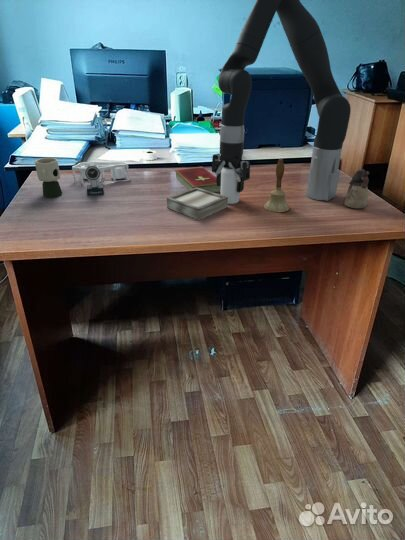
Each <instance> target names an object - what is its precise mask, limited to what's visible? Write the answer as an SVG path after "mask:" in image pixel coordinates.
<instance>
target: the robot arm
mask: <svg viewBox="0 0 405 540" xmlns="http://www.w3.org/2000/svg"><path fill="white" fill-rule="evenodd" d="M276 13H277V16H278V18H279V21H280V24H281V26H282V29H283V31H284V33H285V36H286V38H287V41H288V43H289V46H290V49H291V52H292V54H293V56H294V59H295V60H296V63H297V64H298V65H297V66H298V67H299V69H300V70H301V72H302V75H303V76H304V78H305V79H306V82H307V84H308V86H309V87H310V90H311V94H312V96H313V100H314V103H315V107H316V111H317V115H318V123H317V130H316V135H315V137H314V140H313V145H312V146H313V147H312V153H311V161H310V167H309V173H308V174H309V175H308V180H307V187H306V194H305V195H306V196H307V197H308V198H310V199H312V200H315V201H316V200H317V201H326V202H329V201H331V200H332V199H335V197H336V196H337V195H336V194H337V190H338V186H339V185H338V184H339V180H340V179H339V178H340V173H341V170H340V169H339V166H340V162H341V161H340V160H341V155H342V150H343V146H344V142H345V139H346V137H347V133H348V128H349V124H350V118H351V110H352V109H351V108H352V107H351V104H350V101H349V100H348V99H347V98H346V97H345V96H343V94H342V92H341V91H340V88H339V87H338V84H337V82H336V81H335V78H334V76H333V73H332V70H331V69H332V68H331V67H332V66H331V64H330V63H331V62H330V58H329V57H330V56H329V53H328V48H327V45H326V41H325V39H324V36H323V33H322V30H321V28H320V26H319V24H318V22H317V20H316V19H315V17H314V16H313V15H312V14H311V13H310V11H308V9H307V8H306V7H305V6H304V5H303V4H302V2H301V0H256V1H255V3H254V5H253V7H252V9H251V10H250V12H249V15H248V16H247V19H246V21H244V22H245V23H244V24H243V27H242V28H241V32H240V33H239V37H238V38H237V42H236V44H235V48H234V49H233V51H232V52H231V54H230V55H229V57H228V59H227V60H226V62H225V63H224V65H223V66H222V68H221V69H220V72H219V76H218V81H217V83H218V89H219V90H220V91H221V92H222V93H223V94H227V95H231V98H230V102H228V103H225V104H224V105H223V106H222V109H221V125H220V133H219V134H220V135H219V153H218V152H217V153H215V154H212V158H211V159H212V161H211V172H212V173H213V174H214V173H215V176H216V179H217V180H216V183H217V186H221V170H222V168H223V167H227V168H231V169H233V171H234V174H235V176H236V178H237V180H238V181H237V192H240V193H242V192H243V191H244V189H245V187H244V185H245V181H246V182H247V181H249V180H250V178H251V161H250V160H247V161H246V160H243V159H242V158H243V157H242V156H243V154H244V144H245V143H244V141H245V113H246V108H247V106H248V102H249V99H250V95H251V93H252V89H253V88H252V87H253V80H252V77H251V74H250V72H248V71H247V70H245V68H246V67H248V66H250V65H253V64H255V62H256V61H257V60H258V56H259V54H260V52H261V49H262V47H263V44H264V42H265V39H266V36H267V34H268V31H269V29H270V26H271V25H272V21H273V19H274V17H275V14H276ZM239 167H240V168H239ZM237 168H239V169H240V171H239V172H237V171H236V169H237ZM239 174H240V175H239Z"/></svg>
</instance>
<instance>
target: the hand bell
mask: <svg viewBox="0 0 405 540" xmlns="http://www.w3.org/2000/svg"><path fill="white" fill-rule="evenodd" d="M284 173H285V163H284V159H283V158H279V159H278V161H277V164H276V167H275V176H276V184H275V189H273V190H271V192H270V196H269V199H268V201H267V202H266V203H265V204H264V205H263V207H264V210H266V211H268V212H270V213H271V212H272V213H285V212H288V211H289V210H290V205H289V204H288V203H287V200H286V192H285V191H284V190H282V182H283V181H282V179H283V176H284Z"/></svg>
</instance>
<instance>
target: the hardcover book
mask: <svg viewBox="0 0 405 540" xmlns="http://www.w3.org/2000/svg"><path fill="white" fill-rule="evenodd" d="M174 172H175V178H176V179H177V180H178V181H179V182H180V183H181V184H182V185H183V186H184V187H185V188H186V189H187V190H190V189H193V188H195V187H197V188H200V189H204V190H207V191H210V192H213V193H219V192H220V193H221V186H217V183H216V180H217V179H216V178H217V176H216V175H214V174H213V173H211V172H210V171H208V170H207V169H206V168H205V167H203V166H198V167H197V166H196V167H187V168H178V169H174Z"/></svg>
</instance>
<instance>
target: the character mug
mask: <svg viewBox="0 0 405 540" xmlns="http://www.w3.org/2000/svg"><path fill="white" fill-rule="evenodd" d="M34 164H35V170H36V173H37V179H38V181H39V182H42V195H43V197H44V198H46V199H56V198H59V197H61V196H62V194H63V191H62V187H61V185H60V183H59V181H58V180H60V179H61V173H60V167H59V161H58V159H57V158H56V157H42V158H38V159H35V160H34Z"/></svg>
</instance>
